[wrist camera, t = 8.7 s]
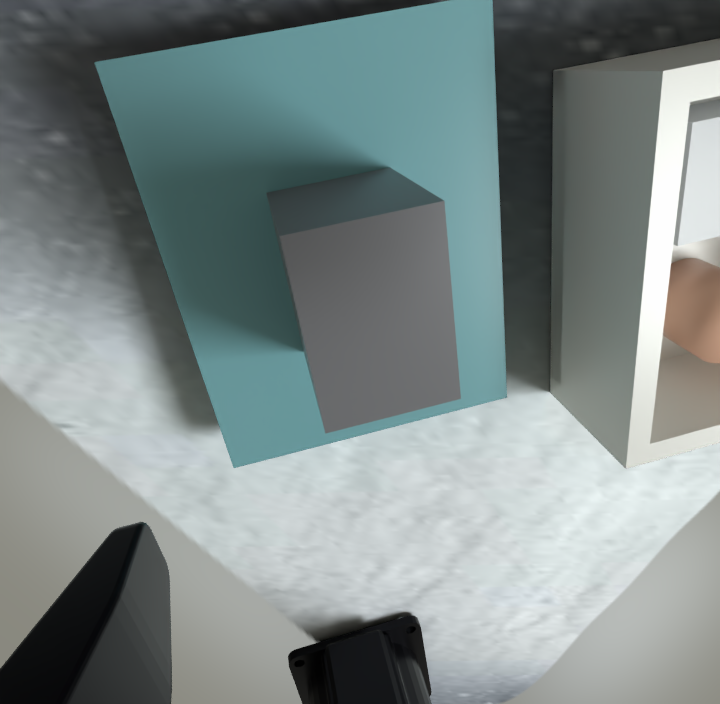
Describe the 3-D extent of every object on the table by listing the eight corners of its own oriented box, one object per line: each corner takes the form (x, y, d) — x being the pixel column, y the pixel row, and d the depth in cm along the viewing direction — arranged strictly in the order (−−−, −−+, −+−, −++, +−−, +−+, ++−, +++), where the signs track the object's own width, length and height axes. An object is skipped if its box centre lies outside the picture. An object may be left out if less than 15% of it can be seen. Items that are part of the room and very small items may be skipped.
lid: (484, 371, 22) (574, 477, 16) (233, 434, 21) (235, 572, 15) (463, 1, 16) (594, -37, 10) (110, 62, 15) (36, 59, 9)
